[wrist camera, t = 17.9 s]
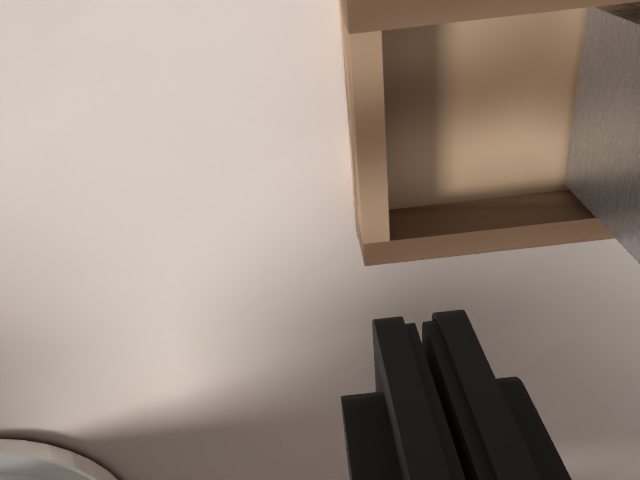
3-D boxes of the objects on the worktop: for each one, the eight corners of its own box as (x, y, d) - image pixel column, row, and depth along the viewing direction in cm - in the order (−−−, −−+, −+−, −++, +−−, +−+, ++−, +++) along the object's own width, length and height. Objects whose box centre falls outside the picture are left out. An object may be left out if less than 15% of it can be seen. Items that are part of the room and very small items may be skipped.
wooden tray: (751, 186, 25) (805, 221, 22) (356, 231, 25) (364, 270, 22) (836, -78, 20) (918, -72, 17) (337, -22, 20) (346, -8, 17)
